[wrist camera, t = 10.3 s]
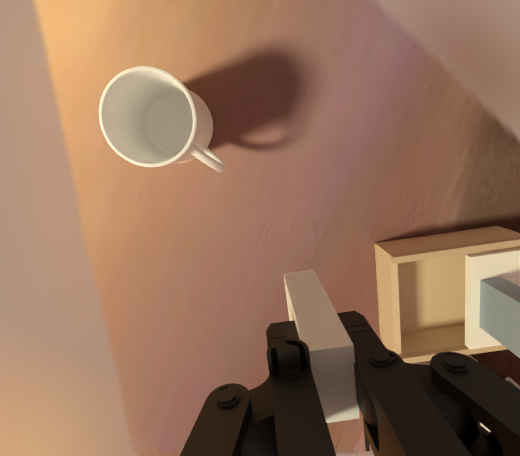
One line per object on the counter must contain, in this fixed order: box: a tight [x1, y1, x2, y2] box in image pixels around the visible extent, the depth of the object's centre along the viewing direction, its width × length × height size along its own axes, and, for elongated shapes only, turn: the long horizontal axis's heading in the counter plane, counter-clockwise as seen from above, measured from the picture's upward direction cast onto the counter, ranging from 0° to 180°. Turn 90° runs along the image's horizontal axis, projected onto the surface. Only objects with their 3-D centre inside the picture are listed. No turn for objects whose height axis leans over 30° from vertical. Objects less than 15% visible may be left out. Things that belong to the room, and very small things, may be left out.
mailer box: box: [375, 226, 520, 363], centre depth 43 cm, size 16×14×6 cm
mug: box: [99, 66, 227, 172], centre depth 35 cm, size 12×8×12 cm
